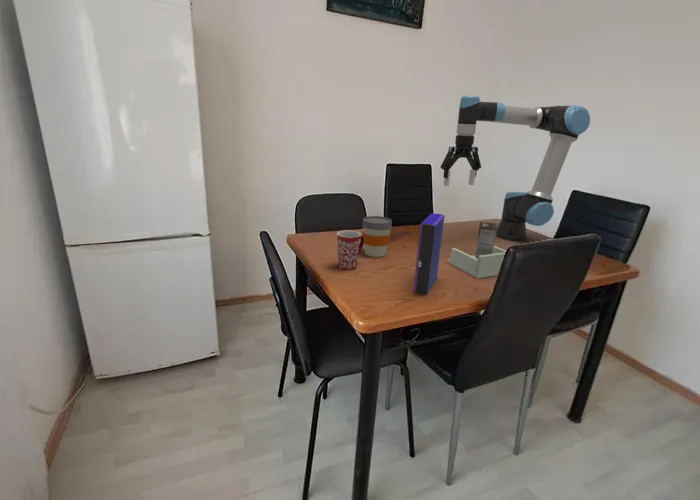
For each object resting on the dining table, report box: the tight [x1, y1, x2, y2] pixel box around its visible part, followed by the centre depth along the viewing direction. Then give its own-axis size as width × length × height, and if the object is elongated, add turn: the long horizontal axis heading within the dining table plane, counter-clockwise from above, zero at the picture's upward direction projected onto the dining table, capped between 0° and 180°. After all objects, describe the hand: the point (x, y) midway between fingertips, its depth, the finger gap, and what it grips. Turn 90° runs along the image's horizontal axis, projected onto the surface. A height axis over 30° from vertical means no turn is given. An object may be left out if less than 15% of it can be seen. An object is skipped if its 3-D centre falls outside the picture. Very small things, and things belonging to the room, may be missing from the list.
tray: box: [447, 245, 507, 279], centre depth 159 cm, size 20×18×8 cm
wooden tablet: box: [389, 229, 413, 243], centre depth 196 cm, size 27×10×2 cm, turn 138°
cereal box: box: [412, 213, 445, 296], centre depth 138 cm, size 17×5×24 cm, turn 157°
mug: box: [336, 229, 364, 271], centre depth 154 cm, size 13×9×14 cm
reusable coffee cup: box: [361, 215, 393, 258], centre depth 168 cm, size 13×13×15 cm
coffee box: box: [474, 221, 498, 259], centre depth 157 cm, size 9×6×16 cm
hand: (458, 185), depth 174 cm, fingers open, 13 cm apart
